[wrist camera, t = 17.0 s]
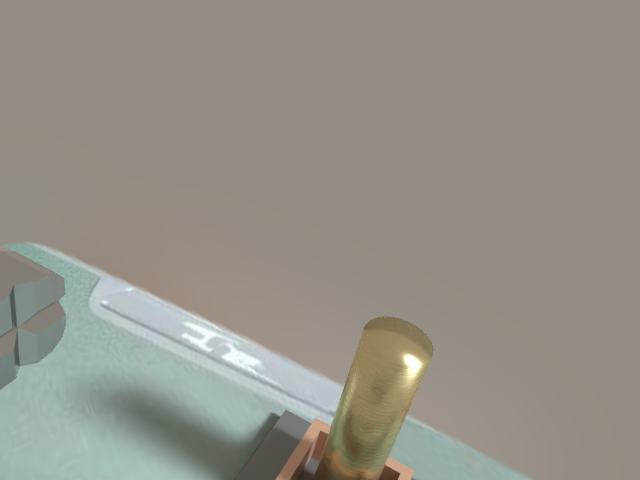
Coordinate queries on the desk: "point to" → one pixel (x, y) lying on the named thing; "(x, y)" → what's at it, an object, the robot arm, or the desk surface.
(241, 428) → the desk surface
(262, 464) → the stand
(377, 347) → the axle
